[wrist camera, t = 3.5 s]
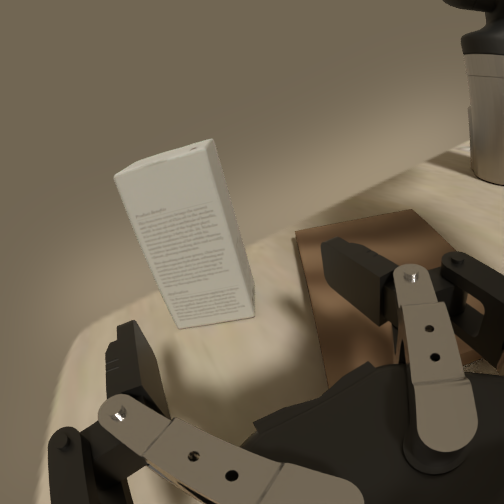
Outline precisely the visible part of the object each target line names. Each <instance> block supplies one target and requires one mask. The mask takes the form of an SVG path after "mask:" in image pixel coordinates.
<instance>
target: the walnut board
mask: <svg viewBox="0 0 504 504" xmlns="http://www.w3.org/2000/svg"><path fill="white" fill-rule="evenodd" d="M295 234H296V239H297V244H298V248H299V252H300V257H301V261H302V265H303V269H304V274H305V278H306V282H307V287H308V291H309V295H310V300H311V304H312V309H313V314H314V318H315V323H316V328H317V332H318V337H319V342H320V347H321V352H322V357H323V362H324V367H325V372H326V377H327V382H328V387H329V389H330V388H331V387H332V386H333V385H334V384H335V383H336V382H337V381H338V380H339V379H340V378H341V377H343V376H344V375H346V374H347V373H349V372H351V371H352V370H354V369H356V368H357V367H359V366H361V365H362V364H364V363H366V362H367V361H369V362H370V363H371V364H372V365H373V366H374V367H378V366H382V365H387V364H394V363H393V348H392V337H391V322H389V321H388V322H386V323H385V324H383V325H381V326H380V327H378V326H377V325H376V324H375V323H374V322H372V321H371V320H370V319H369V318H368V317H366V316H365V315H364V314H363V313H361V312H360V311H359V310H358V309H357V308H355V307H354V306H353V305H352V304H350V303H349V302H348V301H347V300H346V299H344V298H343V297H342V296H341V295H339V294H338V293H337V292H336V291H335V290H333V289H332V288H331V287H330V286H329V285H328V283H327V281H326V279H325V276H324V270H323V263H322V256H321V243H323V242H325V241H327V240H329V239H332V238H334V237H337V236H338V237H340V238H342V239H344V240H346V241H347V242H349V243H351V242H352V243H357V244H361V245H364V246H366V247H367V248H369V249H371V251H375V252H376V253H378V255H379V254H380V255H382V256H383V257H385V258H387V259H389V260H390V261H392V262H394V263H395V264H397V265H399V266H401V265H404V264H417V265H420V266H422V267H424V268H425V269H426V270H430V269H433V268H437V267H440V266H441V259H442V256H443V255H444V254H446V253H448V252H453V251H456V250H455V249H454V248H453V247H452V246H451V245H450V244H449V243H448V242H447V241H446V240H445V239H444V238H443V237H442V236H441V235H439V234H438V233H437V232H436V231H435V230H434V229H433V228H432V227H431V226H430V225H429V224H428V223H427V222H426V221H425V220H423V219H422V218H421V217H420V216H419V215H418V214H417V213H416V212H415V211H414V210H412V209H409V210H404V211H399V212H393V213H388V214H382V215H377V216H372V217H367V218H361V219H356V220H351V221H346V222H340V223H335V224H330V225H325V226H320V227H314V228H309V229H304V230H299V231H295ZM466 303H467V304H469V305H470V306H472V307H473V308H474V309H476V310H477V311H479V312H480V313H481V314H483V315H484V312H485V310H484V306H483V304H482V303H481V302H480V301H479V300H477V299H476V298H474V297H473V296H472V295H470V294H469V293H468V296H467V301H466ZM454 335H455V334H454ZM455 339H456V342H457V346H458V350H459V354H460V358H461V362H462V366H464V365H467V364H469V363H472V362H474V361H477V360H479V359H482V358H483V357H482V356H481V355H479V354H478V353H477V352H476V351H475V350H473V349H472V348H471V347H470V346H469V345H467V344H466V343H465V342H464V341H463V340H461V339H460V338H459V337H458V336H456V335H455Z"/></svg>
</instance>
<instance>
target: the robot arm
mask: <svg viewBox="0 0 504 504" xmlns="http://www.w3.org/2000/svg"><path fill="white" fill-rule="evenodd" d="M443 1H444V2H445V3H447V4H449V5H450V6H453V7H456V8H459V9H467V10H475V11H482V12H485V16H486V25H485V27H483V28H482V29H480V30H478V31H475V32H471V33H468V34H465V35H464V36H462V38H461V46H462V51H463V54H464V61H465V67H466V73H467V79H468V86H469V93H470V103H471V106H469V107H468V117H469V131H470V153H471V169H473V170H474V173H475V175H476V176H478V177H479V178H481V179H483V180H486V181H489V182H492V183H496V184H501V185H504V0H443ZM321 256H322V263H323V270H324V276H325V279H326V281H327V283H328V285H329V286H330V287H331V288H332V289H333V290H335V291H336V292H337V293H338V294H339V295H341V296H342V297H343V298H344V299H346V300H347V301H348V302H349V303H350V304H352V305H353V306H354V307H355V308H357V309H358V310H359V311H360V312H361V313H363V314H364V315H365V316H366V317H368V318H369V319H370V320H371V321H372V322H374V323H375V324H376V325H377V326H378V327H380V326H381V325H383V324H385V323H386V322H388V321H389V322H391V337H392V348H393V363H394V364H387V365H382V366H378V367H374V366H373V365H372V364H371V363H370V362H369V361H367V362H366V363H364V364H362V365H361V366H359V367H357V368H356V369H354V370H352V371H351V372H349V373H347V374H346V375H344V376H343V377H341V378H340V379H339V380H338V381H337V382H336V383H335V384H334V385H333V386H332V387H331V388H330V389H328V390H327V391H326V392H325V393H324V394H323V395H322V396H321V397H319V398H317V399H314V400H311V401H307V402H304V403H300V404H297V405H293V406H289V407H285V408H282V409H280V410H278V411H276V412H274V413H272V414H270V415H268V416H266V417H263V418H261V419H259V420H257V421H255V422H253V424H254V426H255V428H256V430H257V431H256V432H255V433H253V434H252V435H251V436H250V437H249V438H248V439H247V440H245V442H244V443H243V444H242V445H241V446H240V447H237V446H235V445H233V444H231V443H228V442H226V441H224V440H222V439H219V438H217V437H215V436H213V435H211V434H209V433H207V432H205V431H203V430H201V429H199V428H197V427H195V426H193V425H191V424H189V423H187V422H185V421H183V420H181V419H178V418H173V419H172V420H171V417H170V413H169V410H168V406H167V402H166V398H165V394H164V390H163V386H162V381H161V377H160V373H159V368H158V364H157V360H156V357H155V355H154V353H153V350H152V349H151V347H150V345H149V343H148V342H147V340H146V338H145V336H144V335H143V333H142V331H141V329H140V327H139V326H138V324H137V322H136V321H135V320H132V321H129V322H127V323H124V324H122V325H119V326H117V340H116V341H114V342H111V343H110V344H109V346H108V349H107V351H106V353H105V360H106V393H107V400H106V401H105V402H104V403H103V404H102V405H101V407H100V409H99V412H98V421H97V422H95V423H94V424H92V425H91V426H89V427H88V428H86V429H85V430H83V431H81V432H79V431H77V430H76V429H75V428H73V427H63V428H61V429H59V430H57V431H56V432H55V433H54V434H53V435H52V437H51V438H50V440H49V443H48V470H49V486H50V497H51V504H134V503H133V500H132V496H131V493H130V489H129V485H128V481H127V477H129V476H130V475H132V474H133V473H135V472H136V471H138V470H139V469H141V468H142V467H144V466H146V467H148V468H149V469H151V470H152V471H153V472H155V473H156V474H158V475H159V476H161V477H162V478H164V479H165V480H167V481H168V482H170V483H171V484H173V485H174V486H176V487H178V488H179V489H181V490H182V491H184V492H185V493H187V494H188V495H190V496H191V497H193V498H195V499H196V500H198V501H199V502H201V503H203V504H504V275H502V274H500V273H499V272H497V271H495V270H494V269H492V268H490V267H489V266H487V265H485V264H483V263H482V262H480V261H478V260H476V259H475V258H473V257H471V256H469V255H467V254H465V253H463V252H457V251H453V252H448V253H446V254H444V255H443V256H442V259H441V266H440V267H437V268H433V269H430V270H426V269H425V268H424V267H422V266H420V265H417V264H404V265H401V266H399V265H397V264H395V263H394V262H392V261H390V260H389V259H387V258H385V257H383V256H382V255H380V254H379V255H378V253H376V252H375V251H371V249H369V248H367V247H366V246H364V245H361V244H357V243H352V242H351V243H349V242H347V241H346V240H344V239H342V238H340V237H338V236H337V237H334V238H332V239H329V240H327V241H325V242H323V243H321ZM468 293H469V294H470V295H472V296H473V297H474V298H476V299H477V300H479V301H480V302H481V303H482V304H483V306H484V310H485V312H484V315H483V314H481V313H480V312H479V311H477V310H476V309H474V308H473V307H472V306H470V305H469V304H467V303H466V301H467V296H468ZM454 334H455V335H456V336H458V337H459V338H460V339H461V340H463V341H464V342H465V343H466V344H467V345H469V346H470V347H471V348H472V349H473V350H475V351H476V352H477V353H478V354H479V355H481V356H482V357H483V358H484V359H485V360H487V361H488V362H489V363H490V364H491V365H492V366H494V367H495V368H496V369H497V371H498V374H499V375H490V374H480V373H470V372H464V371H463V366H462V362H461V358H460V354H459V350H458V346H457V342H456V339H455V335H454Z"/></svg>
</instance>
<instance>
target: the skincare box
mask: <svg viewBox="0 0 504 504" xmlns="http://www.w3.org/2000/svg"><path fill="white" fill-rule="evenodd" d="M114 181H115V183H116V186H117V189H118V191H119V194H120V197H121V199H122V202H123V204H124V207H125V210H126V212H127V214H128V217H129V220H130V222H131V224H132V227H133V230H134V232H135V235H136V237H137V240H138V242H139V244H140V247H141V250H142V252H143V254H144V256H145V259H146V261H147V263H148V266H149V268H150V270H151V273H152V275H153V277H154V280H155V282H156V284H157V286H158V288H159V291H160V293H161V295H162V297H163V299H164V302H165V304H166V306H167V308H168V310H169V312H170V314H171V316H172V318H173V320H174V322H175V324H176V326H177V328H178V329H183V328H190V327H196V326H203V325H209V324H216V323H222V322H228V321H234V320H240V319H245V318H252V317H254V316H255V283H254V279H253V276H252V272H251V269H250V265H249V262H248V258H247V254H246V251H245V247H244V244H243V241H242V237H241V234H240V230H239V227H238V223H237V220H236V216H235V213H234V209H233V206H232V202H231V199H230V196H229V192H228V188H227V184H226V181H225V177H224V174H223V171H222V167H221V164H220V160H219V156H218V153H217V149H216V146H215V142H214V140H213V139H208V140H204V141H201V142H198V143H194V144H191V145H188V146H184V147H181V148H177V149H174V150H170V151H167V152H164V153H160V154H157V155H154V156H151V157H148V158H145V159H142V160H139V161H137V162H135V163H133V164H132V165H130V166H128V167H127V168H125V169H124V170H122V171H120V172H119V173H117V174H116V175H115V176H114Z"/></svg>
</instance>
